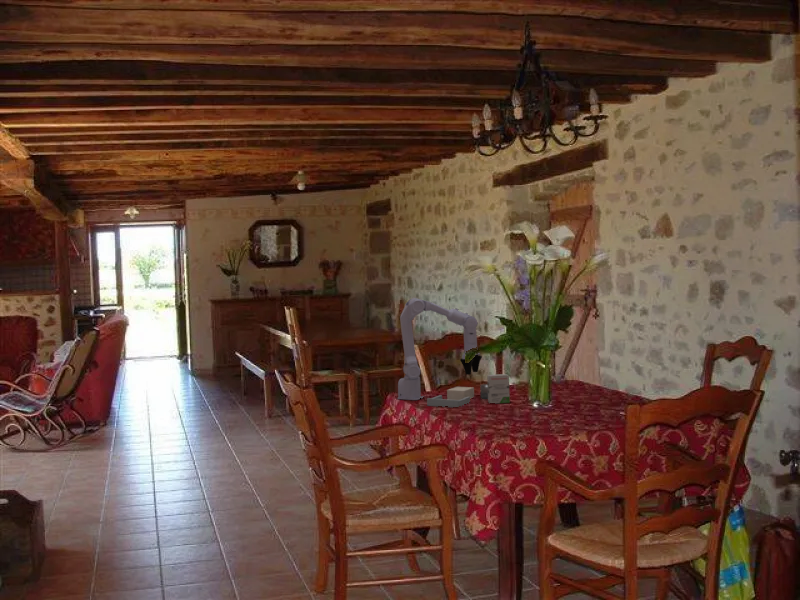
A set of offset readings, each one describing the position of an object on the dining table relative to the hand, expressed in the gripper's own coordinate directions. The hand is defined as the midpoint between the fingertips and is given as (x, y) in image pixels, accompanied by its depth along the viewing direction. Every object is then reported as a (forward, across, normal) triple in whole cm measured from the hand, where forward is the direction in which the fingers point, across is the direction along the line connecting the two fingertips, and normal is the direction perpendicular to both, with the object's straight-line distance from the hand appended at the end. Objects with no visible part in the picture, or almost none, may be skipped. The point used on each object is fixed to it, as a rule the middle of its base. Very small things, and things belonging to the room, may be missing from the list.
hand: (471, 373), depth 389 cm
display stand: (+10, -23, +1) cm, 25 cm away
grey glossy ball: (+10, -5, -9) cm, 15 cm away
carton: (+10, -11, +1) cm, 15 cm away
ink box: (+10, -12, -17) cm, 24 cm away
